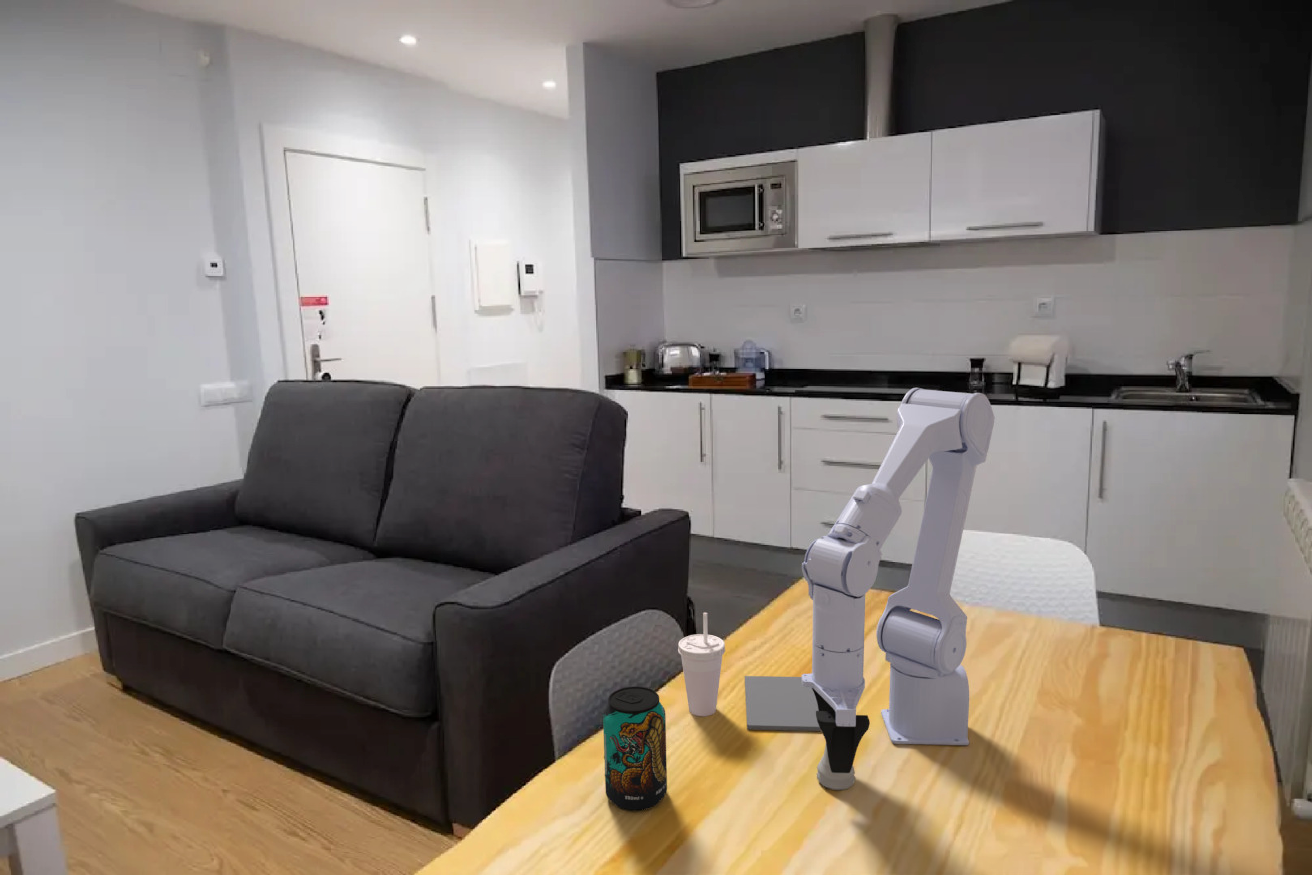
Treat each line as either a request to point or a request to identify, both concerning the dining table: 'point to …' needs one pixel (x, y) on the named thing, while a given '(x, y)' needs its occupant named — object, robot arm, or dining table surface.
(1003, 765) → the dining table surface
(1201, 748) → the dining table surface
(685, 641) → the smoothie
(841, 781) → the rook chess piece
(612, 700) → the beverage can
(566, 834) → the dining table surface
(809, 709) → the rubber mat
